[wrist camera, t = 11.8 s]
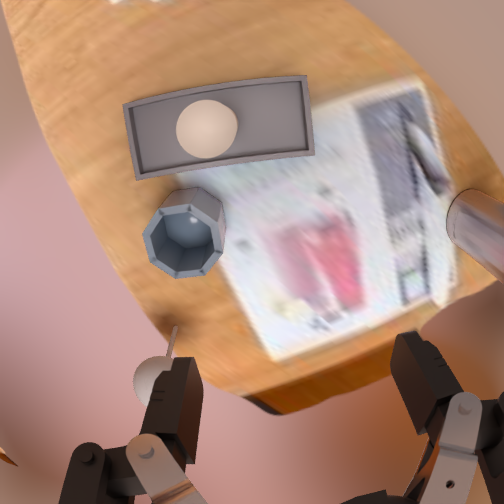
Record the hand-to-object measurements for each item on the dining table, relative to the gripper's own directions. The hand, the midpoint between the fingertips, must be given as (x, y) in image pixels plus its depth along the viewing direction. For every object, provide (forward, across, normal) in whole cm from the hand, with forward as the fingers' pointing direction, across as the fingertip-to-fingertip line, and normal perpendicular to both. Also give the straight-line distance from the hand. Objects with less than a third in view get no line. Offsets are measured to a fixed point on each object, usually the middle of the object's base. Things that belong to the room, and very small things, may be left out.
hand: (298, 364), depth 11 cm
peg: (+26, +4, -8) cm, 28 cm away
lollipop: (+28, +15, +19) cm, 36 cm away
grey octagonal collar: (+27, +9, +3) cm, 29 cm away
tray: (+27, +4, -8) cm, 29 cm away
